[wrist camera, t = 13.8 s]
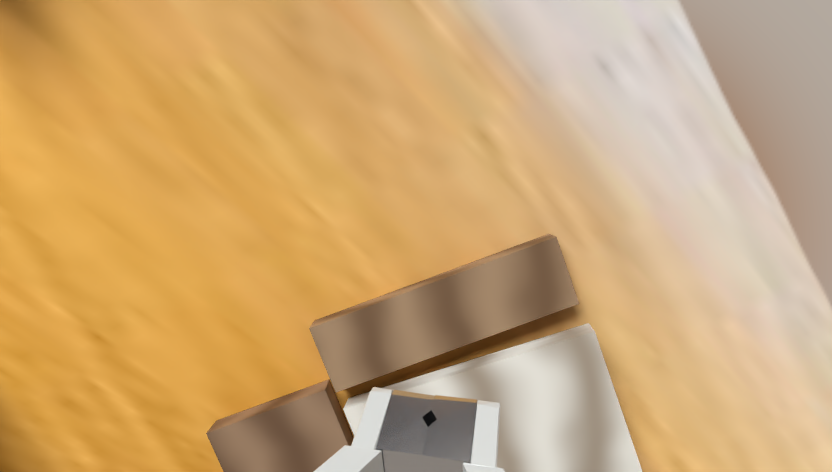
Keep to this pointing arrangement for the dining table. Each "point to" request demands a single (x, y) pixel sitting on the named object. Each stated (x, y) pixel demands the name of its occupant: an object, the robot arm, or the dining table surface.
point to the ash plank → (539, 404)
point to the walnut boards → (393, 350)
